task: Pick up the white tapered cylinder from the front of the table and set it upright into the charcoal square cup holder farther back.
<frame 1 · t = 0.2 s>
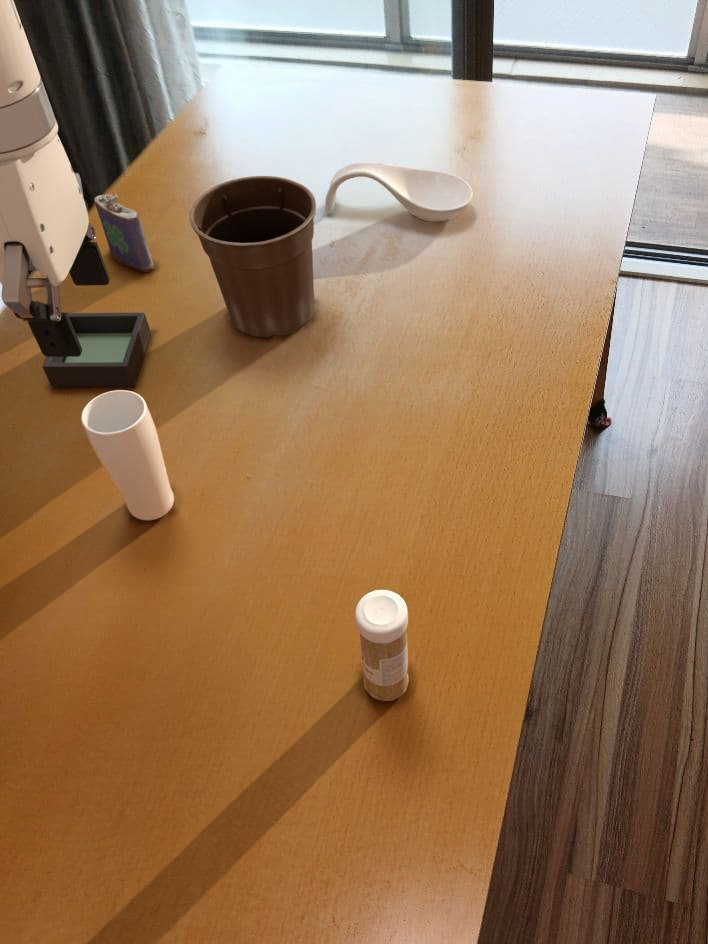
hand: (78, 317, 70), 29 cm above the table, tool pointing down, fingers open, 9 cm apart
spoon rest: (399, 212, 132), on the table
plant pot: (271, 313, 117), on the table
white tapered cylinder: (152, 506, 95), on the table
cup holder: (102, 359, 111), on the table
sprinkles bottle: (386, 683, 81), on the table
flask: (131, 261, 125), on the table
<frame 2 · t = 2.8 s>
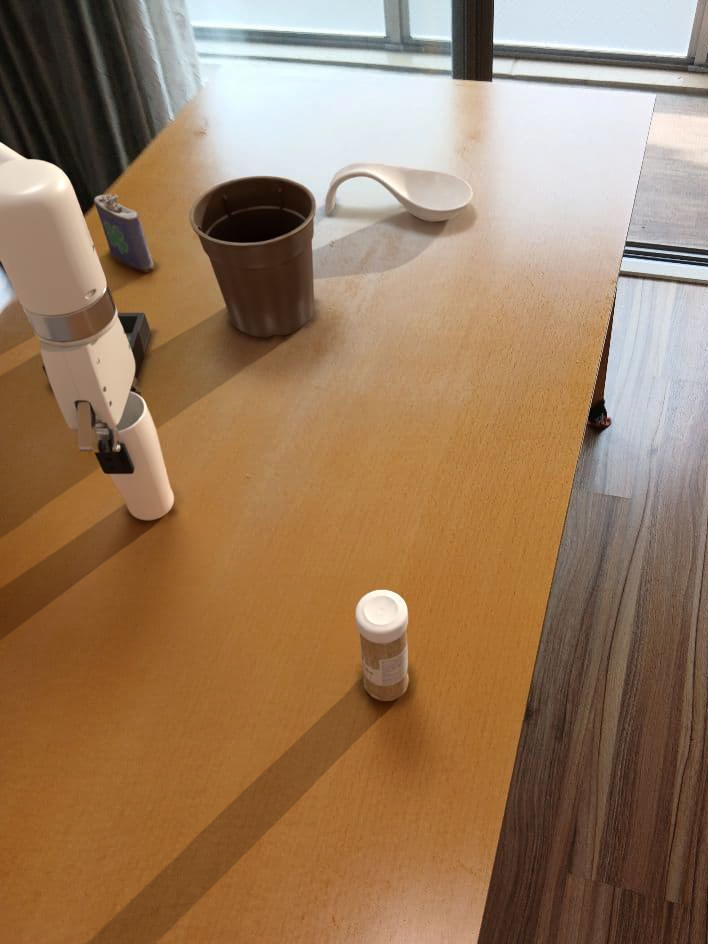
hand: (127, 444, 87), 10 cm above the table, tool pointing down, fingers closed on white tapered cylinder, 6 cm apart
white tapered cylinder: (152, 506, 95), on the table, touching gripper
everything else where it was.
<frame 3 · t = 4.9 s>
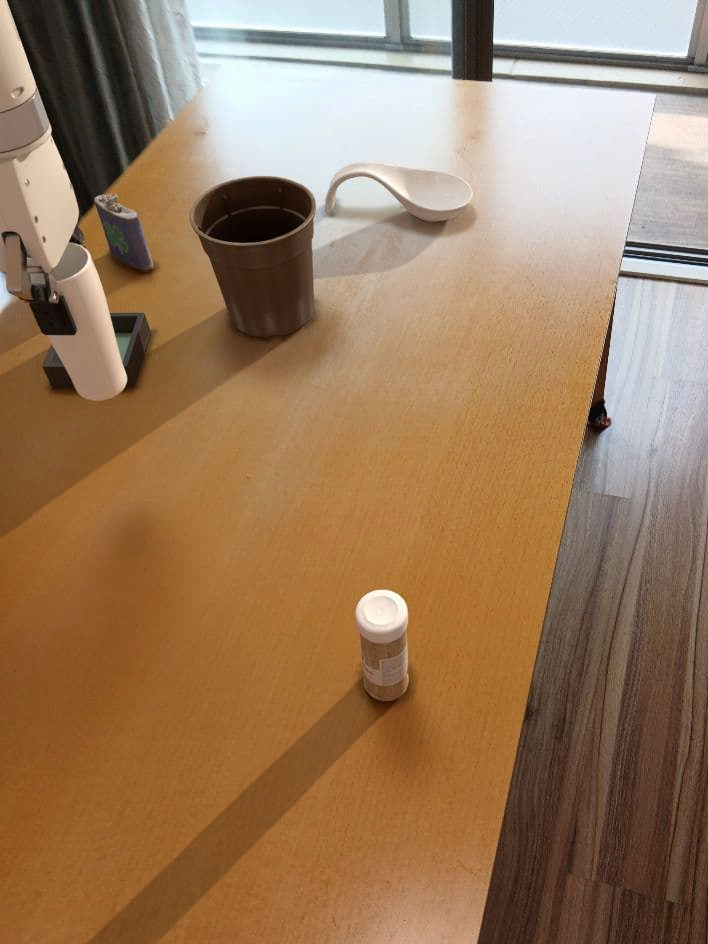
hand: (70, 306, 78), 25 cm above the table, tool pointing down, fingers closed on white tapered cylinder, 6 cm apart
white tapered cylinder: (103, 387, 86), point 15 cm above the table, touching gripper
everything else where it was.
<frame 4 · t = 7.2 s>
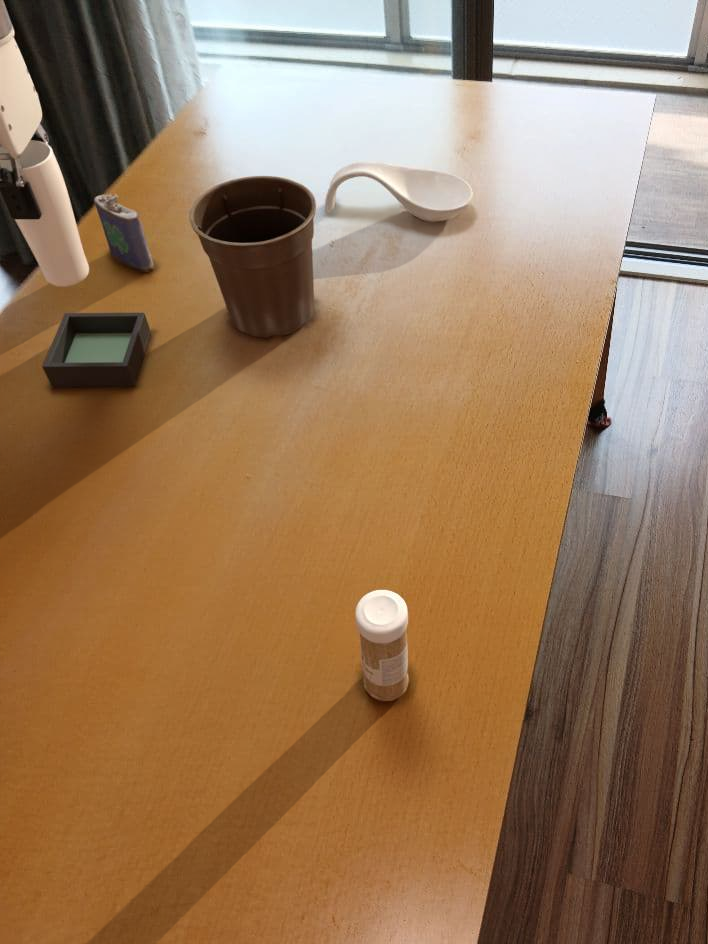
hand: (37, 197, 91), 24 cm above the table, tool pointing down, fingers closed on white tapered cylinder, 6 cm apart
white tapered cylinder: (69, 277, 99), point 14 cm above the table, touching gripper
everything else where it was.
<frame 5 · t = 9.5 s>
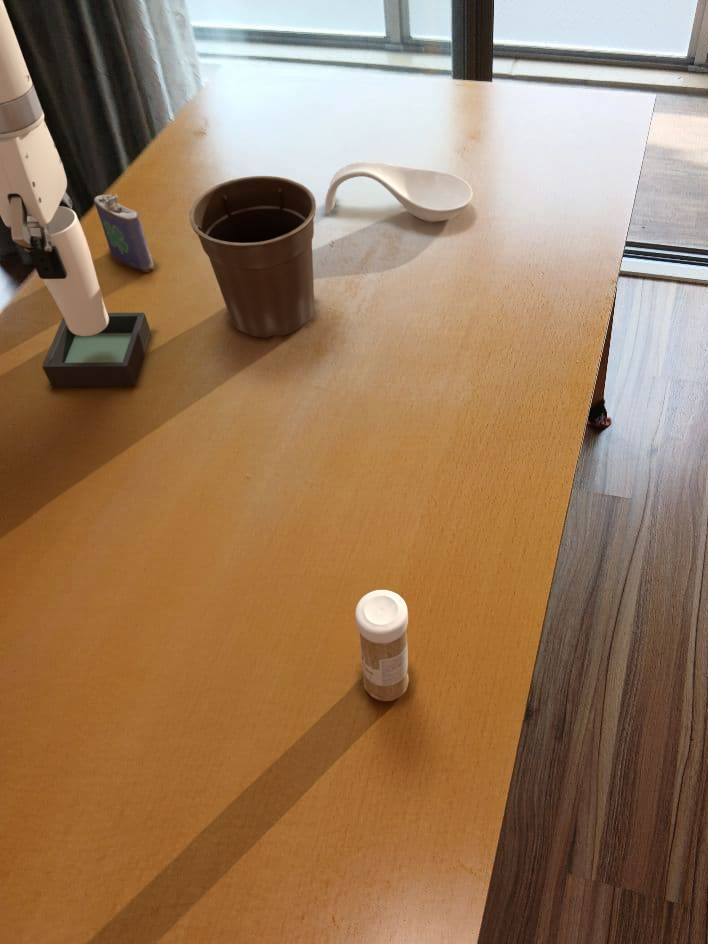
hand: (62, 257, 99), 16 cm above the table, tool pointing down, fingers closed on white tapered cylinder, 6 cm apart
white tapered cylinder: (90, 326, 107), point 5 cm above the table, touching gripper
everything else where it was.
when the fingers open (11 cm above the table, at t = 11.5 s): white tapered cylinder stays where it is, resting on cup holder.
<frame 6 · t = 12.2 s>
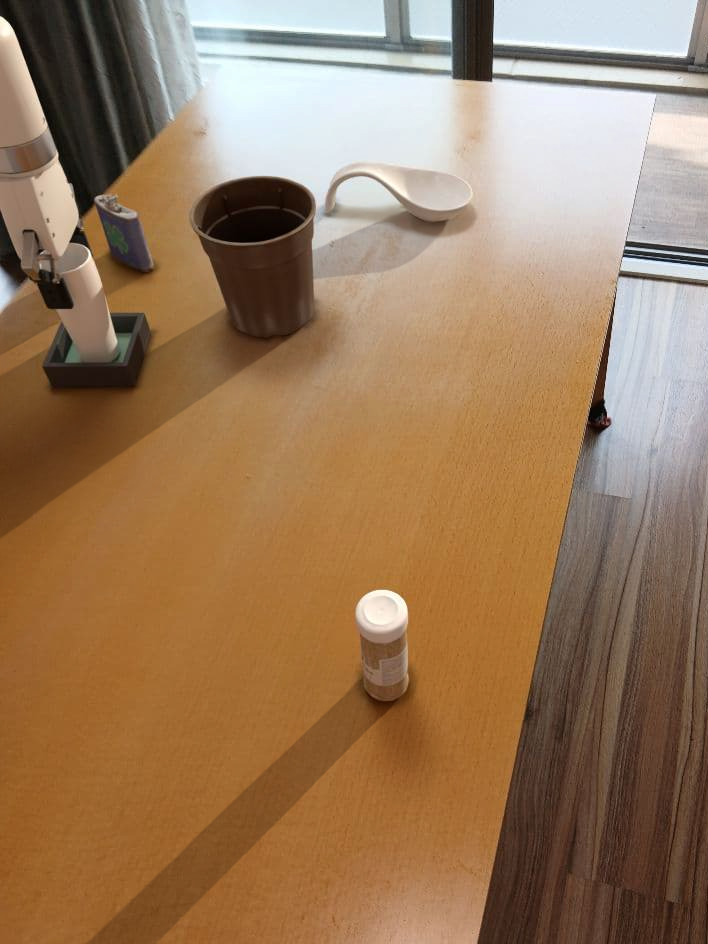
hand: (71, 283, 102), 12 cm above the table, tool pointing down, fingers open, 9 cm apart
white tapered cylinder: (101, 356, 111), point 1 cm above the table, touching cup holder
everything else where it was.
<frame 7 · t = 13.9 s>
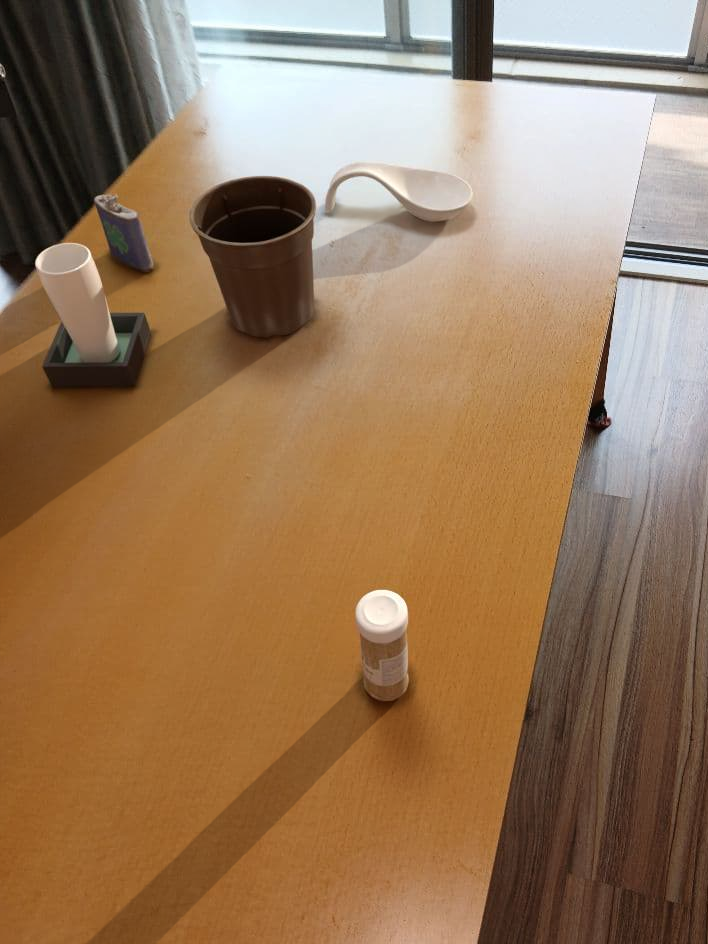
nothing on the table moved.
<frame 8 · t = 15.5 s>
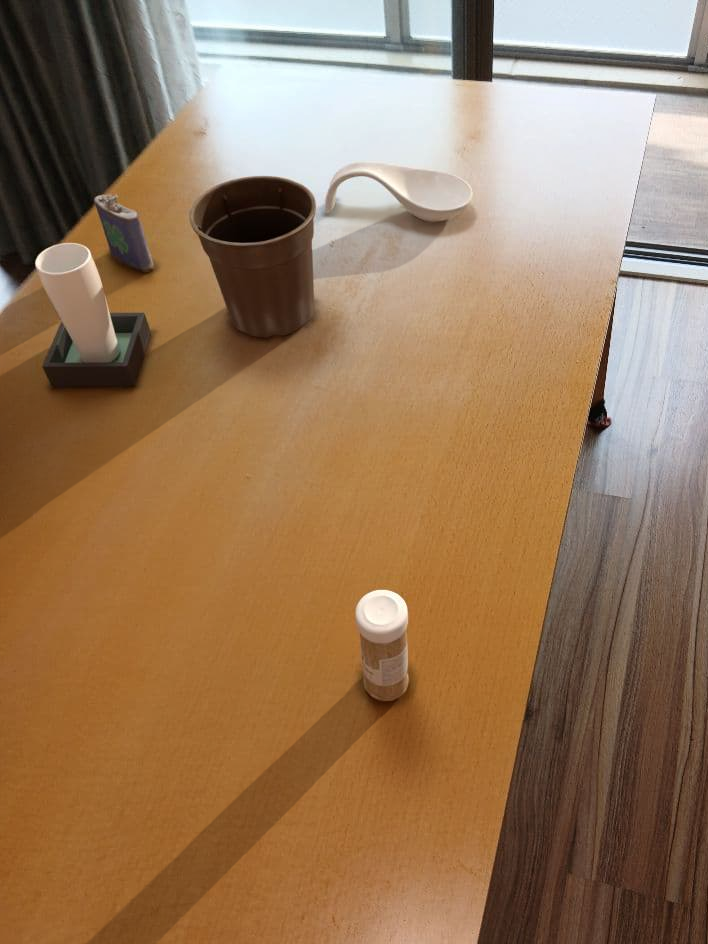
nothing on the table moved.
at the end: white tapered cylinder 0.0 cm off-centre in the cup holder, point 0.5 cm above the cup holder's base; white tapered cylinder tilted 0°; the gripper is holding nothing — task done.
